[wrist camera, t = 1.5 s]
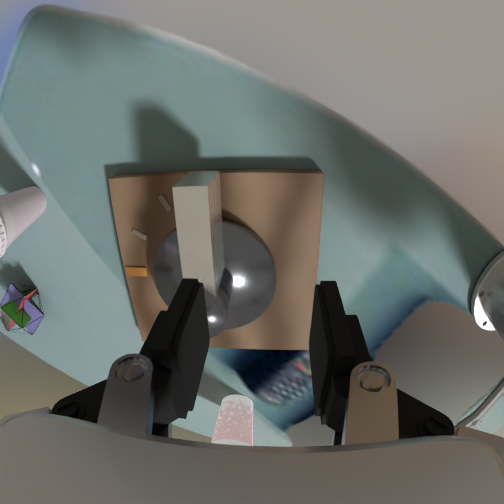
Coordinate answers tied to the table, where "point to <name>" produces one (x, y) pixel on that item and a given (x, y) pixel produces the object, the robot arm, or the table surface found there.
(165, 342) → the robot arm
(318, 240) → the dial plate
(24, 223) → the smoothie
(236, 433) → the beverage cup
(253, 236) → the dial
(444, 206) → the table surface
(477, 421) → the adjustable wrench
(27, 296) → the geometric puzzle
